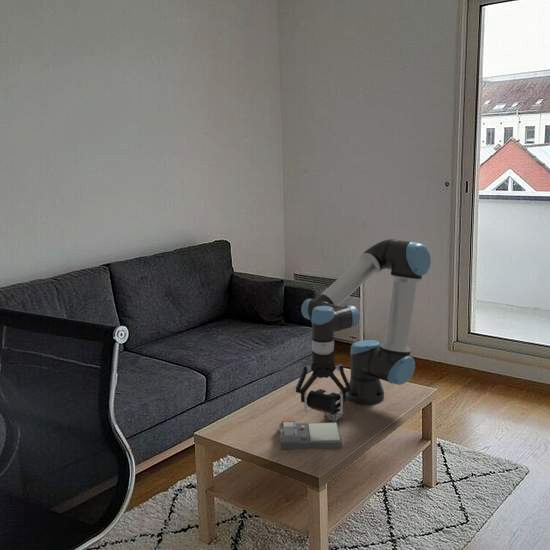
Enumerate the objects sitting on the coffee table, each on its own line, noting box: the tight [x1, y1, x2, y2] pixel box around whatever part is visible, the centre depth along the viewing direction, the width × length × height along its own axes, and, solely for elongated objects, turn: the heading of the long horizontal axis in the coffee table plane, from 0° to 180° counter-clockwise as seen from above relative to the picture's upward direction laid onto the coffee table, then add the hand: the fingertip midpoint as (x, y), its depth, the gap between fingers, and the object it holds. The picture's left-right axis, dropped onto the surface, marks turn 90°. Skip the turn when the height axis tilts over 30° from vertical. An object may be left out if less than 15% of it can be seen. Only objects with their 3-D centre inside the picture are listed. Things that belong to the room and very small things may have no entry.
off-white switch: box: [283, 422, 294, 436], centre depth 230 cm, size 4×4×4 cm
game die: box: [323, 401, 346, 422], centre depth 246 cm, size 9×8×10 cm
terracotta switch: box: [282, 416, 294, 422], centre depth 237 cm, size 4×4×4 cm
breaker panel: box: [279, 419, 343, 450], centre depth 234 cm, size 21×16×4 cm
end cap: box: [307, 388, 340, 415], centre depth 231 cm, size 10×7×7 cm
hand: (323, 410), depth 232 cm, fingers closed on end cap, 12 cm apart
